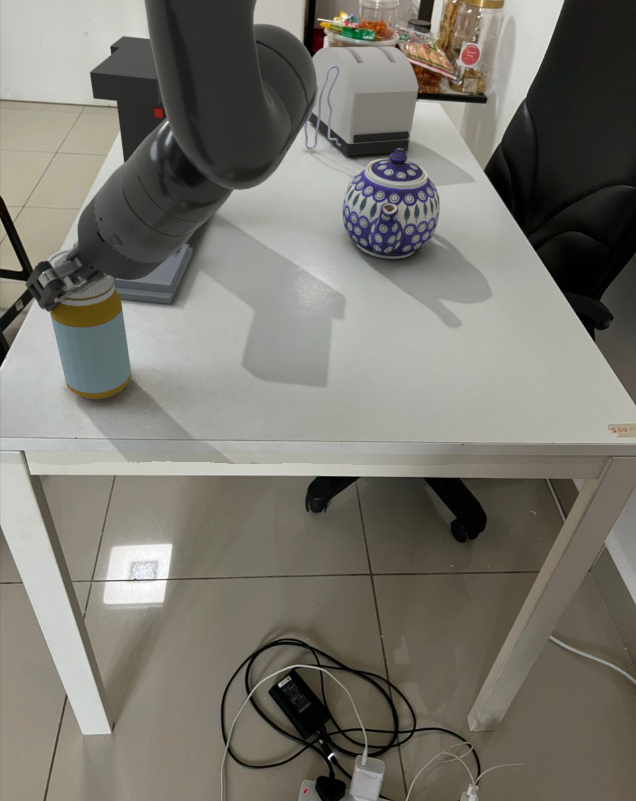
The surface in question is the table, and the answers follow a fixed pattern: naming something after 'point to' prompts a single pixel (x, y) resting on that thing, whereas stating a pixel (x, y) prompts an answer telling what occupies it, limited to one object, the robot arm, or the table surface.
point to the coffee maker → (138, 116)
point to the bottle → (92, 339)
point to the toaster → (364, 99)
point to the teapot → (391, 207)
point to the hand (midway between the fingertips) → (73, 288)
